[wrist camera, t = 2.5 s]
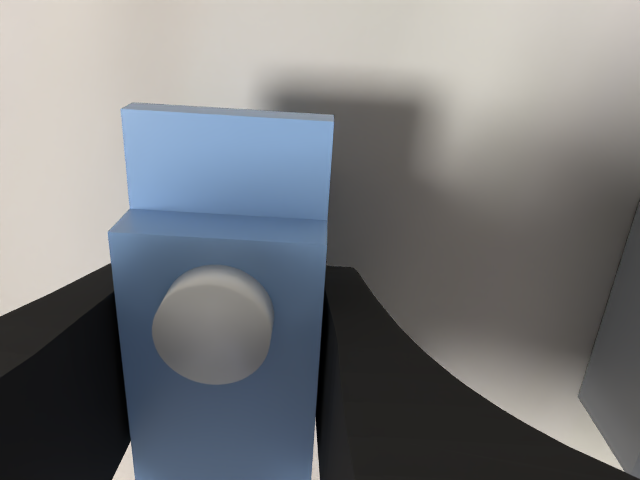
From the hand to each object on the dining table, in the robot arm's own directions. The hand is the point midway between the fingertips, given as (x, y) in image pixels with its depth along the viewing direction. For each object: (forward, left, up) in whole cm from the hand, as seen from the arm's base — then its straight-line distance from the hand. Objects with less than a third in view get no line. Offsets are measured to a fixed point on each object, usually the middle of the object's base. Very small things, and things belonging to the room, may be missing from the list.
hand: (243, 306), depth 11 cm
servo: (0, 0, -2) cm, 2 cm away
